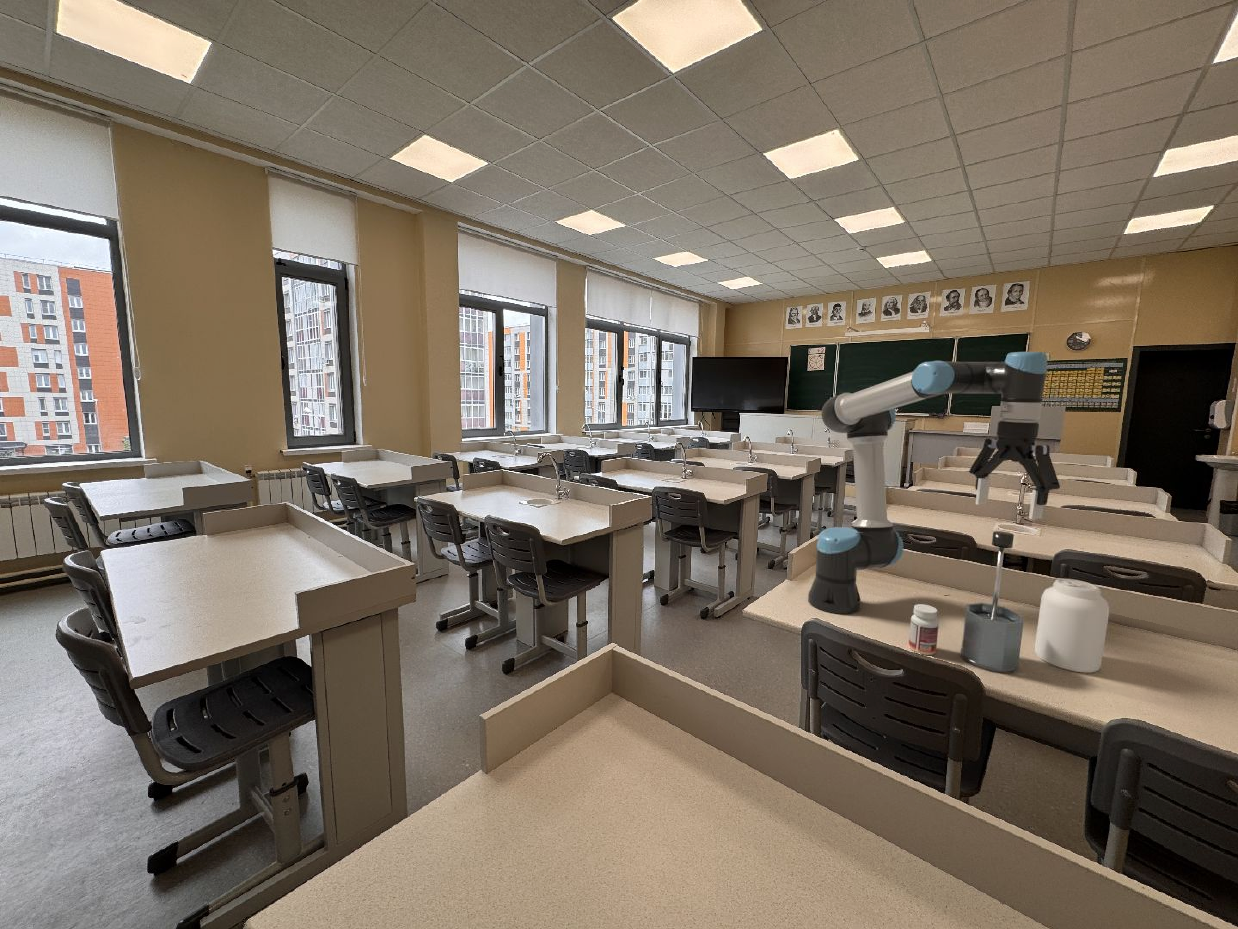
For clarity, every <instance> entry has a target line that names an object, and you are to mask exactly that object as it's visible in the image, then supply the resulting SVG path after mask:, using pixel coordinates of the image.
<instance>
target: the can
mask: <svg viewBox="0 0 1238 929" xmlns="http://www.w3.org/2000/svg"><path fill="white" fill-rule="evenodd" d="M1101 594H1102V591H1101V590H1100V588H1099V587H1098V586H1097V585H1094V584H1092V583H1090V582H1086V581H1083V580H1080V579H1072V578H1056V580H1055V581H1054V582H1053V585H1052V586H1050V587H1047V588H1046V589H1044V590H1043V592H1042V595H1041V598H1040V606H1039V614H1038V621H1037V629H1036V636H1035V645H1034V651H1035V654H1036V655H1037V656H1038V658H1040V659H1041V660H1043V661H1044V662H1046V663H1048V664H1050V665H1052V666H1055V667H1058V668H1060V669H1064V670H1067V671H1072V672H1078V673H1089V674H1090V673H1095V672H1097V671H1099V669H1100V668H1101V667H1102V661H1103V655H1104V648H1105V642H1106V636H1107V629H1108V623H1109V616H1110V608H1109V603H1108V601H1107V600H1106V599H1105V598H1104V597H1103V596H1102V595H1101Z"/></svg>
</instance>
